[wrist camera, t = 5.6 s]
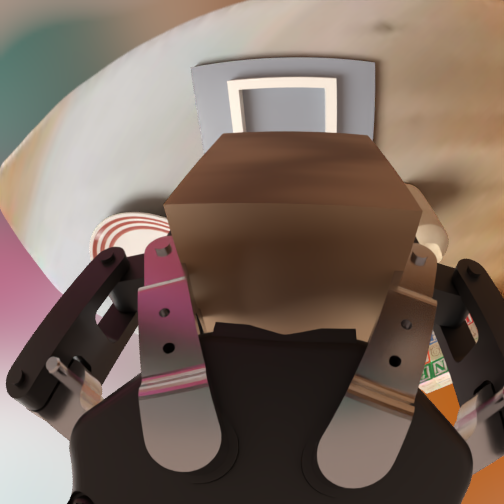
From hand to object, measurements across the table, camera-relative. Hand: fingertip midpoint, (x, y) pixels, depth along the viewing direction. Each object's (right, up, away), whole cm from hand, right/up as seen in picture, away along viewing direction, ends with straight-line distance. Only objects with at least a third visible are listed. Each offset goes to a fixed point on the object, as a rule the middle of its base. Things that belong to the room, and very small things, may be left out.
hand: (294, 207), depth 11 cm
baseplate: (+2, +11, +15) cm, 19 cm away
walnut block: (0, +1, +1) cm, 1 cm away
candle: (+16, +4, +18) cm, 25 cm away
